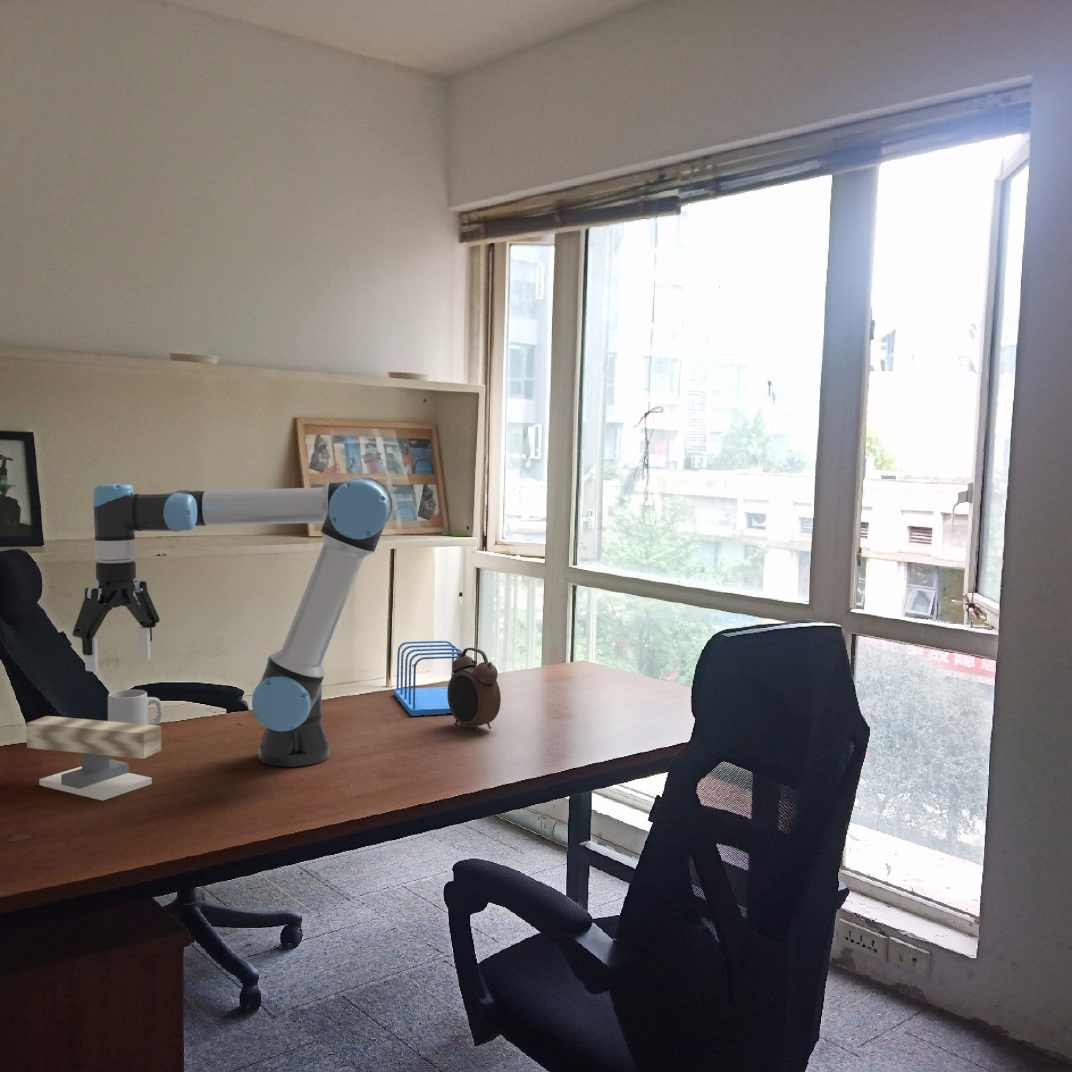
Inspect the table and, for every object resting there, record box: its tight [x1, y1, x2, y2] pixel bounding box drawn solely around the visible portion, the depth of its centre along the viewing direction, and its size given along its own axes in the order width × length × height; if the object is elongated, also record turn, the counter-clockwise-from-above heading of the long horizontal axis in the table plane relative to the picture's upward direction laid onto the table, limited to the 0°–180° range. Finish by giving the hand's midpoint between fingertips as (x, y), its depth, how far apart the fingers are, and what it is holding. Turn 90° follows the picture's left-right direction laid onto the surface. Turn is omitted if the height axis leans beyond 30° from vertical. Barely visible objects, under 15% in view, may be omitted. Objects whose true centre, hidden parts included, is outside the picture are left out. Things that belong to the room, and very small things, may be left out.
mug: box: [107, 689, 163, 725], centre depth 243 cm, size 12×8×11 cm
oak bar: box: [26, 715, 162, 760], centre depth 210 cm, size 26×6×5 cm, turn 77°
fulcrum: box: [38, 753, 153, 801], centre depth 211 cm, size 18×12×7 cm, turn 62°
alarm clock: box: [447, 647, 502, 734], centre depth 258 cm, size 15×7×20 cm, turn 43°
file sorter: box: [393, 640, 468, 717], centre depth 283 cm, size 25×17×15 cm
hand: (119, 664), depth 214 cm, fingers open, 13 cm apart
